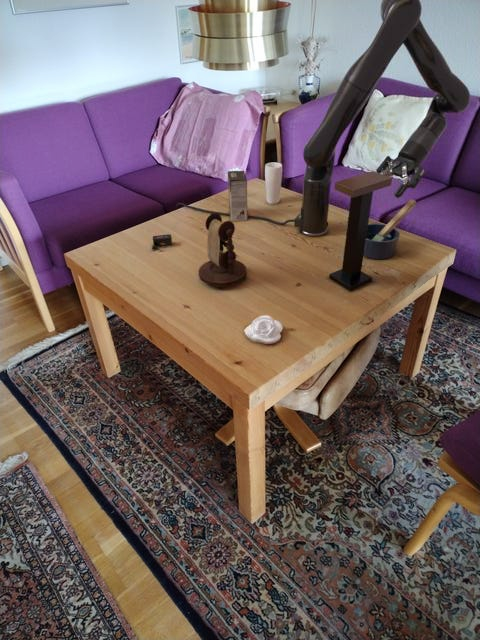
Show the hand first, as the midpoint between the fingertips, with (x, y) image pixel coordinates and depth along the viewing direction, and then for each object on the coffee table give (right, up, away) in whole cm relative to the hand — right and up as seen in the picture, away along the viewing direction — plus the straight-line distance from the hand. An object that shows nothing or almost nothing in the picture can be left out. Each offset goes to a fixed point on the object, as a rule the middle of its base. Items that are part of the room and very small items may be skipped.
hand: (385, 192), depth 145 cm
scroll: (-50, -26, +1) cm, 57 cm away
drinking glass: (-31, +8, +46) cm, 56 cm away
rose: (-39, -43, -22) cm, 62 cm away
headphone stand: (-11, -27, -2) cm, 30 cm away
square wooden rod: (+5, -9, +11) cm, 15 cm away
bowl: (0, -16, +12) cm, 20 cm away
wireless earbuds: (-72, -14, +18) cm, 76 cm away
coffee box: (-46, 0, +36) cm, 58 cm away
